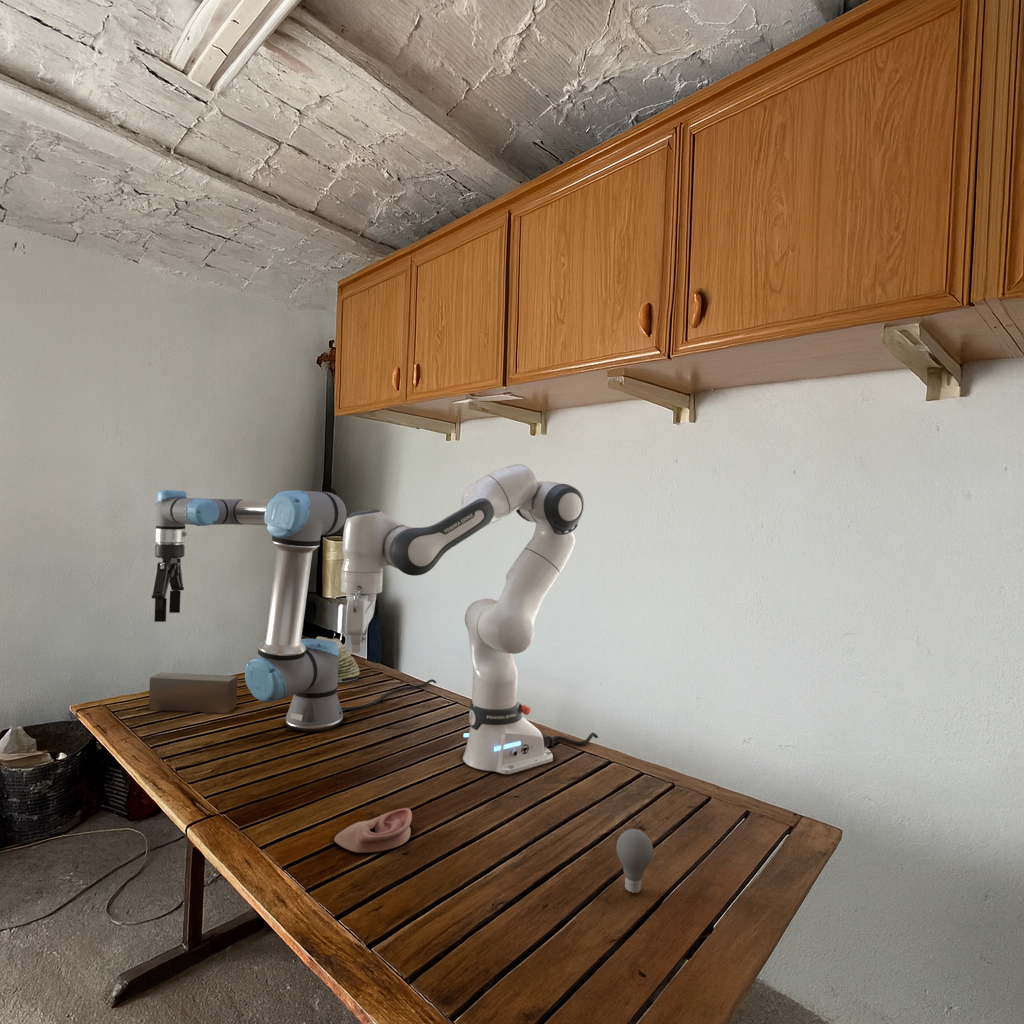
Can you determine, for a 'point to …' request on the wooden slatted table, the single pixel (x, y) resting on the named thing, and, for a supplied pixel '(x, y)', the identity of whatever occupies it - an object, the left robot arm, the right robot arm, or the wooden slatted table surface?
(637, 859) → the light bulb
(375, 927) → the wooden slatted table surface
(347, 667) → the fossil
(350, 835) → the anatomical model
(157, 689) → the bar
